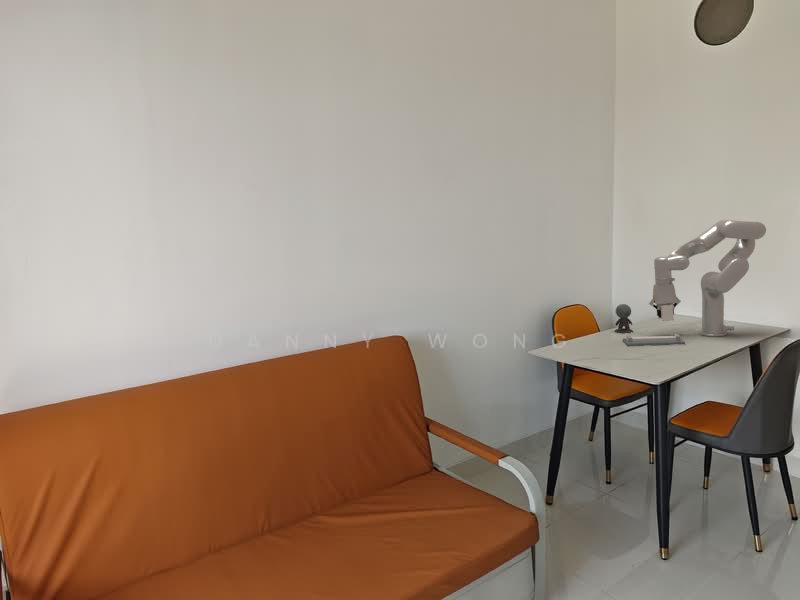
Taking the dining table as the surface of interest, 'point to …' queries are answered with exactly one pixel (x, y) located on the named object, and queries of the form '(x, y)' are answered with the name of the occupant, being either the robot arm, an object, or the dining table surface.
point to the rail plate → (653, 340)
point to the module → (666, 312)
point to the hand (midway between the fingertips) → (665, 316)
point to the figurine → (623, 319)
